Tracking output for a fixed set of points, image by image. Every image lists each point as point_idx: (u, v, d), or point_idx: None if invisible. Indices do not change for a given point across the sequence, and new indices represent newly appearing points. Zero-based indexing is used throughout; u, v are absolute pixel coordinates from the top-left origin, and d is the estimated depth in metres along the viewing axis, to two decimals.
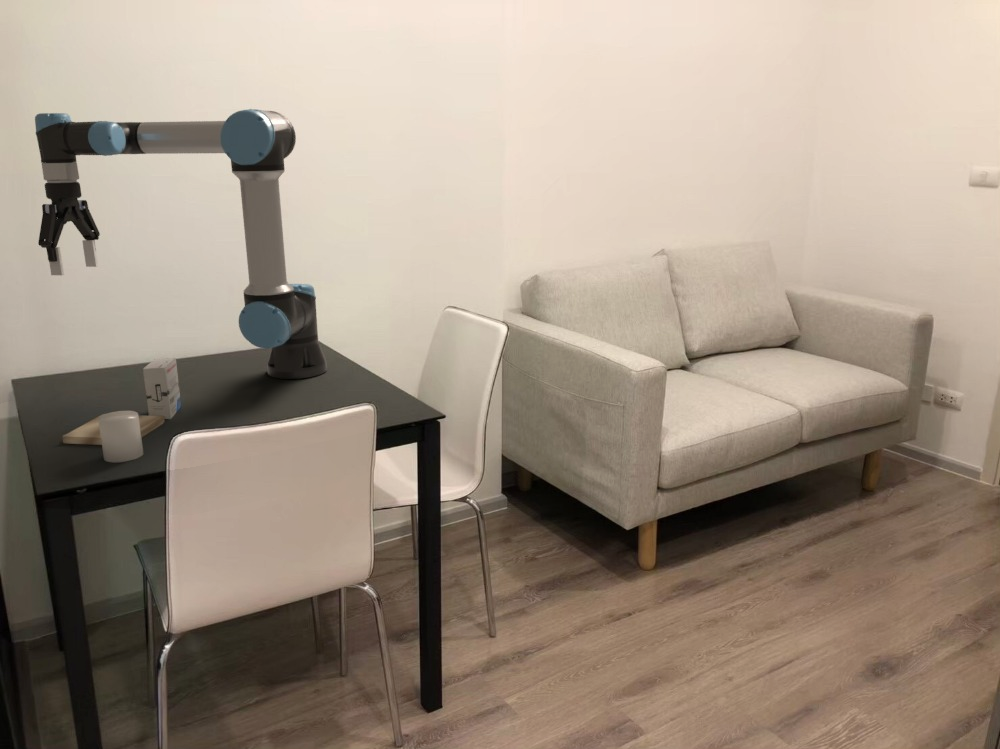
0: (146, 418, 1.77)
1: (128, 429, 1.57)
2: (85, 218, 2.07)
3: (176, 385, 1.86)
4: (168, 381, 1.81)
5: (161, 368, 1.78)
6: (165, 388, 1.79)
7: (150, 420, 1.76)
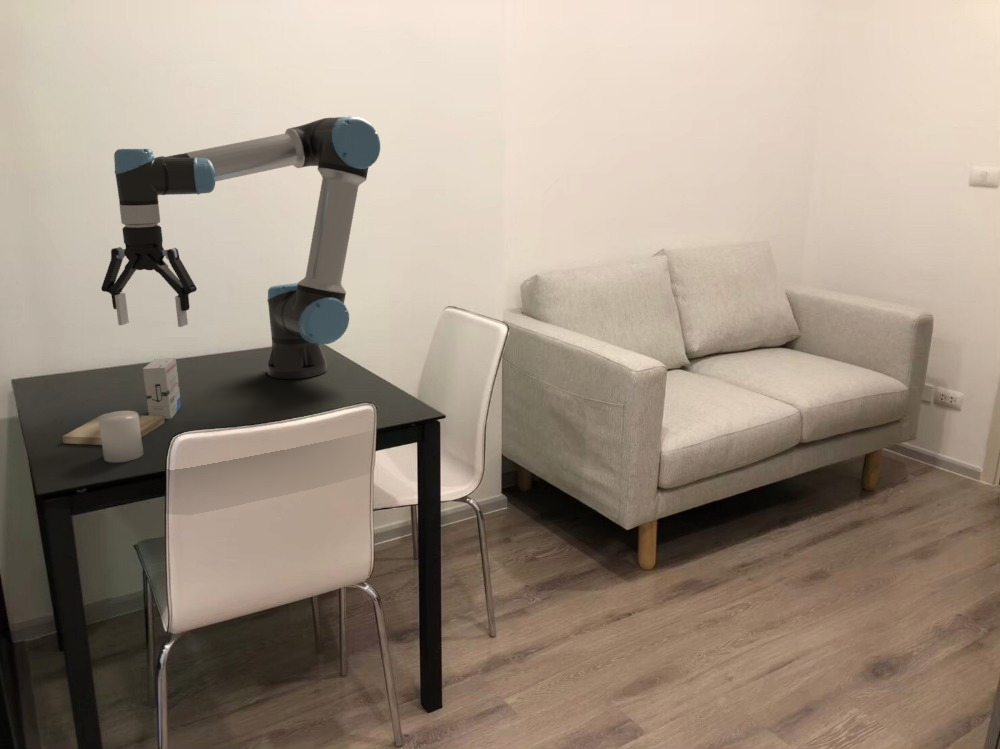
0: (146, 418, 1.77)
1: (128, 429, 1.57)
2: None
3: (176, 385, 1.86)
4: (168, 381, 1.81)
5: (161, 368, 1.78)
6: (165, 388, 1.79)
7: (150, 420, 1.76)
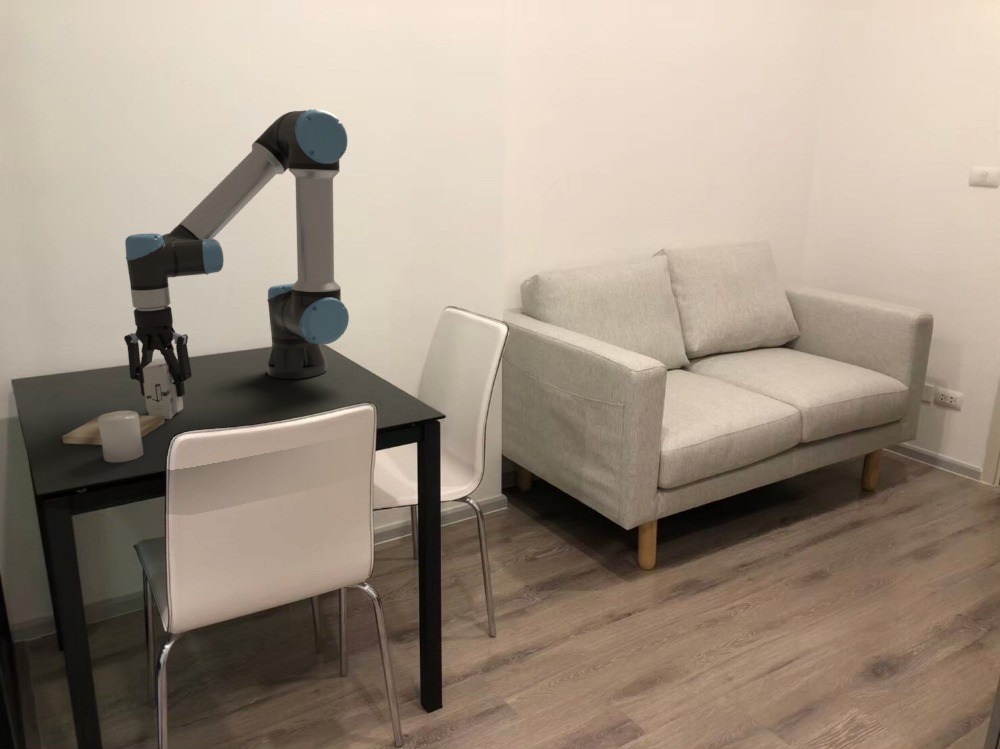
0: (146, 418, 1.77)
1: (128, 429, 1.57)
2: None
3: None
4: (168, 381, 1.80)
5: (161, 368, 1.78)
6: (165, 388, 1.79)
7: (150, 420, 1.76)
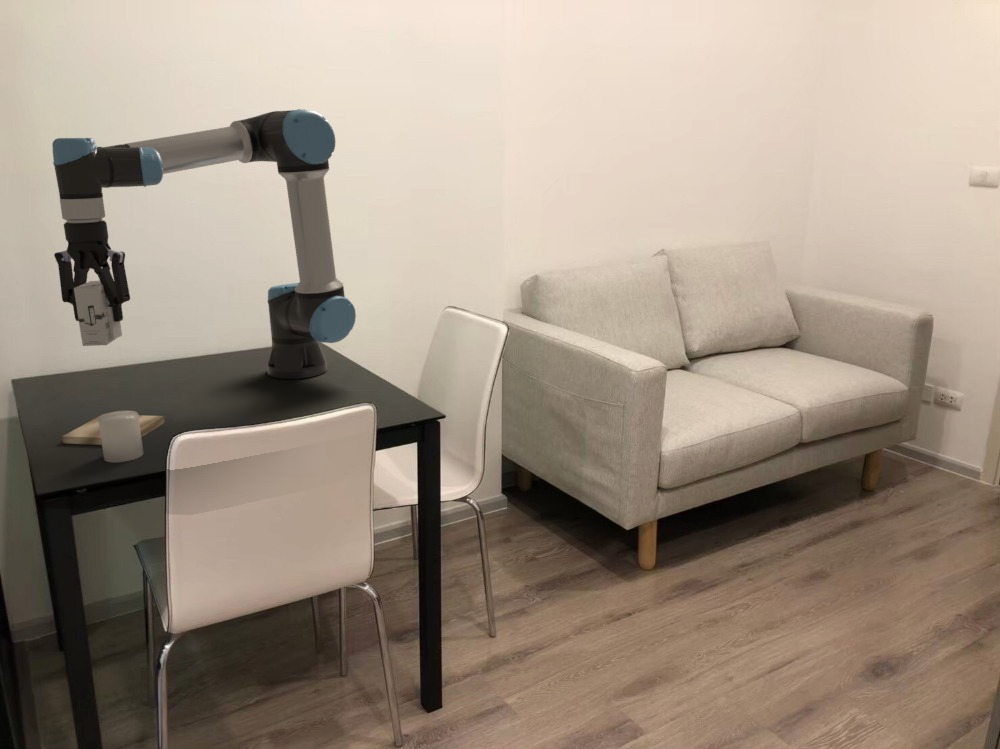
0: (146, 418, 1.77)
1: (128, 429, 1.57)
2: None
3: None
4: (103, 303, 1.63)
5: (94, 287, 1.61)
6: (99, 310, 1.62)
7: (150, 420, 1.76)
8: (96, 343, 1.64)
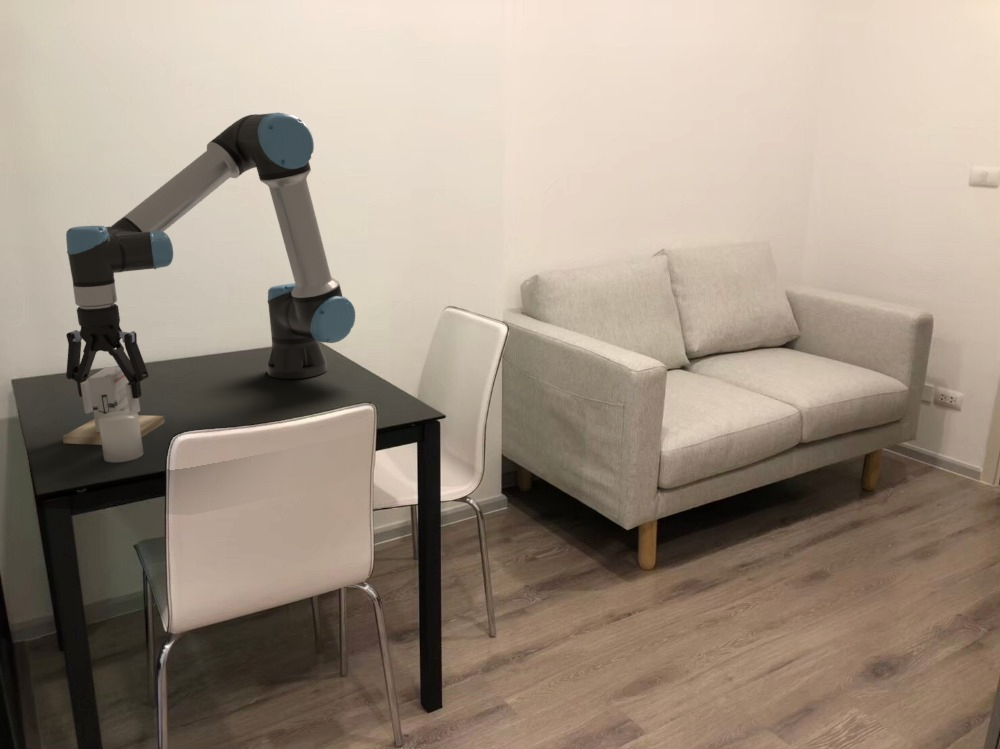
0: (146, 418, 1.77)
1: (128, 429, 1.57)
2: None
3: None
4: (116, 391, 1.68)
5: (107, 378, 1.66)
6: (112, 399, 1.67)
7: (150, 420, 1.76)
8: None
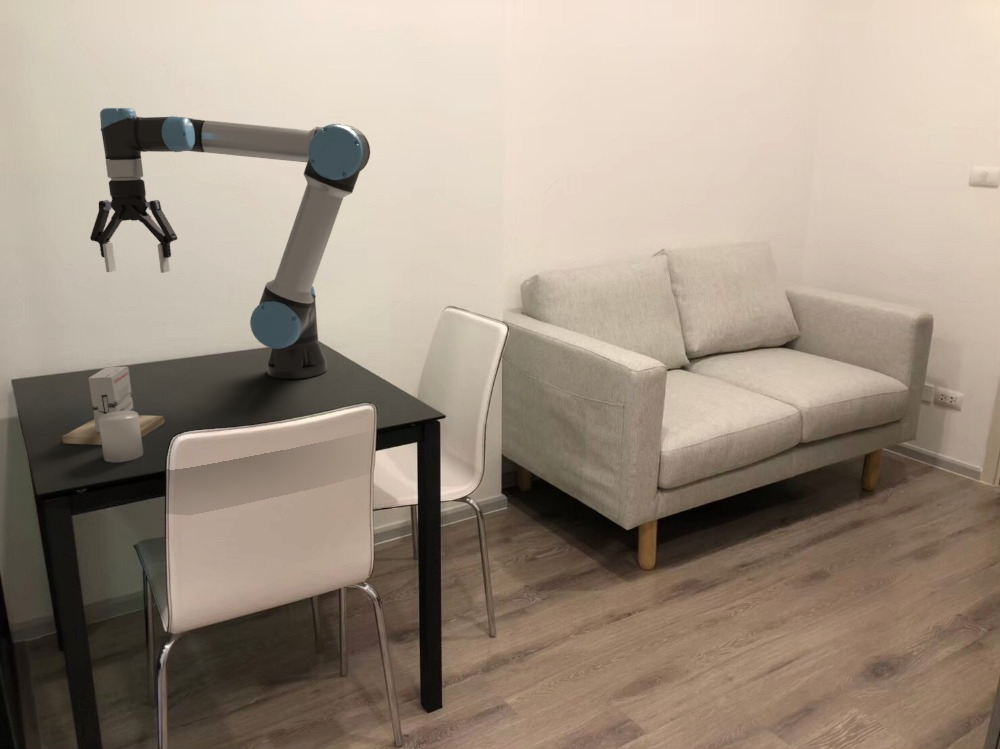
0: (146, 418, 1.77)
1: (128, 429, 1.57)
2: None
3: (128, 395, 1.73)
4: (117, 391, 1.68)
5: (108, 378, 1.66)
6: (112, 399, 1.67)
7: (150, 420, 1.76)
8: None
